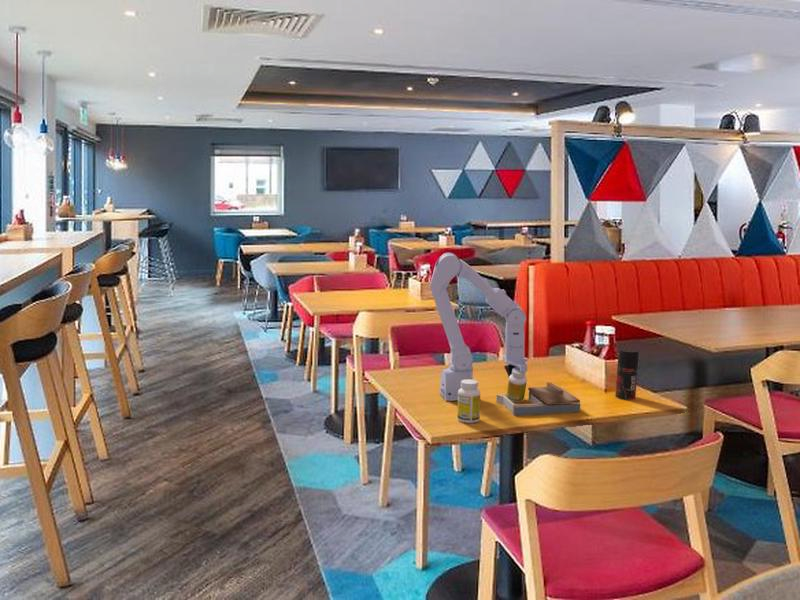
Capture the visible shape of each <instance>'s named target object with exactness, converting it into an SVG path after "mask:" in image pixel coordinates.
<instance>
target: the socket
mask: <svg viewBox="0 0 800 600" xmlns="http://www.w3.org/2000/svg"><path fill="white" fill-rule="evenodd" d="M528 400H529V402H530V403H527V404H526V403H524V404H521V403H520V404H515V402H512V401H510V400H509V399H508V398H507V397H506V396H505V395H503V394H499V393H497V394H496V403H497V402H498V403H497V404H500V403H501V404H500V405H502V404H503V406H504V407H505V408H506V407H507V408H508V409H507V408H506V409H507V410H509V412H511V413H512V414H513V416H514V417H520V416H522V417H523V416H536V415H537V416H539V415H540V416H541V415H556V414H555V413H560V414H572V413H573V412H578V413H581V402H580V403H565V404H545V402H543V401H542V400H540V399H539V398H538V397H537V396H535V395H534V394H533V393H531V392H530V391H529V390H528ZM573 414H574V413H573Z"/></svg>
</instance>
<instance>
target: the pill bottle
mask: <svg viewBox="0 0 800 600" xmlns="http://www.w3.org/2000/svg"><path fill="white" fill-rule="evenodd" d="M461 387H462V388H460V389H459V391H458V400H457V420H458V421H459V422H460V423H464V422H465V424H474V423H477V422H479V421H480V419H481V390H479V388H478V387H479V381H478V380H476V379H473V380H472V379H465V380H462V381H461Z"/></svg>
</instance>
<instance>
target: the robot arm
mask: <svg viewBox="0 0 800 600" xmlns="http://www.w3.org/2000/svg"><path fill="white" fill-rule="evenodd" d="M456 276H457V278H460V279H465V280H468V282H469V283H471V284H472V285H473V286H474V287H475V288H476V289H477V290H478V291H479V292H481V293H482V294H483V295H485V302H486V304H487V305H489V307H491V308H492V309H493V310H494V311H495V312H496V313H497V314H498V315H499V316H501V317H504V320H505V321H506V322H505V334H504V335H505V336H504V337H505V342H504V343H505V345H504V346H505V347H504V348H505V349H504V351H505V352H504V353H503V354H502V356H503V357H502V358H503V359H502V360H503V361H504V362H505V364H507V365H504V370H505V371H506V374H507V377H508V378H509V376H510V375H511V374H512V370H513V368H515V367H518V369H520V372H526V373H527V372H528V365H527V362H529V358H528V357H525V323H526V320H527V317H526V313H525V312H524V310H523V309H522V307H520V305H519V304H518V302H517V300H514V301H513V299H511V298H510V296H508V294H507V292H506V290H505V289H504V288H503V289H501V288H499V287H492V286H491V284H490V283H488V282H487V281H486V280H485V279H484V278H483V277H482V276H481V274H479V273H478V272H477V270H475V269H474V268H473V267H472V266H471V265H469V264H468V263H467V262H465V261H464V260H463V259H461V258H458V256H457V255H456V254H454V253H452V252H444V253H442V255H441V256H439V257H438V259H437V261H436V262H435V264H434V268H433V273H432V276H431V279H430V283H429V288H430V291H431V294H432V298H433V300H434V303H435V307H436V308H437V312H438V314H439V317H440V320H441V324H442V326H443V329H444V332H445V335H446V337H447V341H448V345H449V348H450V352H449V353H450V358H451V363H450V365H448V368H445V369H441V372H440V391H439V394H440V395H441V397H442V398H443V399H444V400H445V401H446V402H451V401H458V391H459V389H460V388H462V387H461V381H462V380H465V379H472V380H474V379H473V378H474V376H473V375H474V367H473V362H474V358H473V355H472V352H471V349H470V347H469V346H468V345H467V344H466V343H465V341H464V337H463V335H462V332H461V329H460V326H459V323H458V320H457V318H456V315H455V312H454V308H453V305H452V303H451V302H452V301H451V300H450V299H451V298H450V296H449V293H448V289H447V288H448V286H449V284H450V283H451V280H453V278H455V277H456Z"/></svg>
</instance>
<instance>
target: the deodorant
mask: <svg viewBox="0 0 800 600" xmlns="http://www.w3.org/2000/svg"><path fill="white" fill-rule="evenodd" d="M639 354H640V351H639V349H637V348H632V347H619V348H618V353H617V356H618V357H617V365H616V366H617V370H616V382H615V383H616V384H615V395H614V397H615V398H616V399H619V400H624V401H633V400H635V399H636V393H637V382H638V381H637V380H638V378H637V377H638V367H639Z"/></svg>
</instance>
